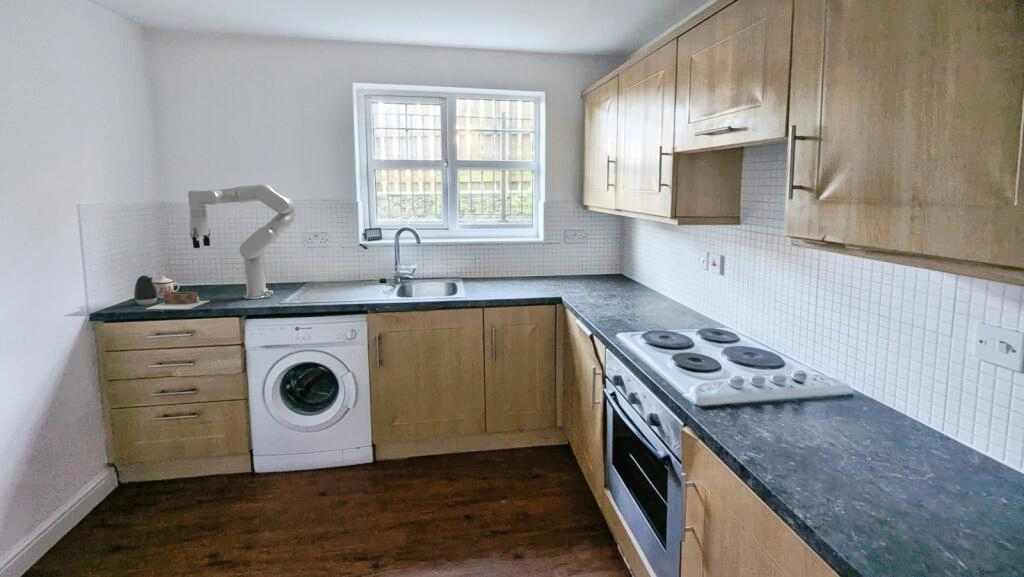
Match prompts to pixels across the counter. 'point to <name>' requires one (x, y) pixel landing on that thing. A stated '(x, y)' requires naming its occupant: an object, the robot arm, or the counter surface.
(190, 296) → the frame
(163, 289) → the teacup with lid
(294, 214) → the robot arm
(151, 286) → the dark grey egg-shaped piece
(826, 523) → the counter surface
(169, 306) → the wall board
